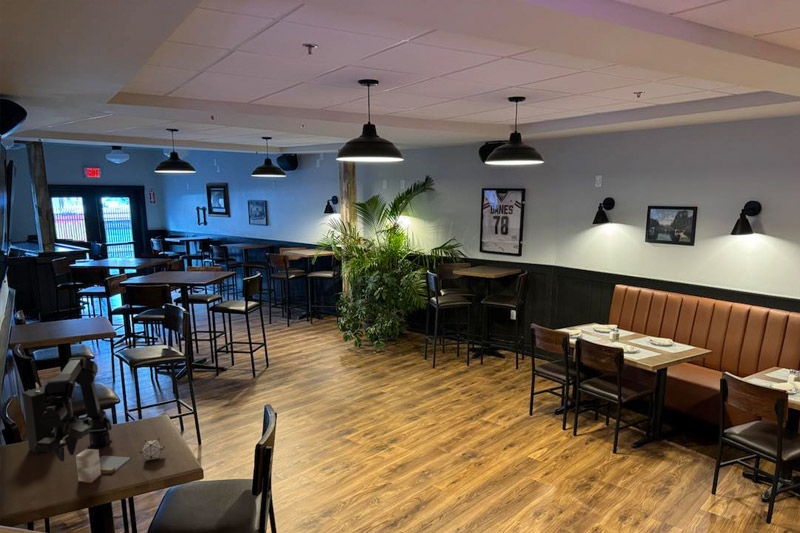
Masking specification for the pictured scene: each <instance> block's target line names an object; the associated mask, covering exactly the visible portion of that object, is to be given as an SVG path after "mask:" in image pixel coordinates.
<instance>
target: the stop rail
mask: <svg viewBox="0 0 800 533" xmlns="http://www.w3.org/2000/svg"><path fill="white" fill-rule="evenodd" d="M100 469H101V474H107V475H112V474H114V473H115V472H116V471H115V467H103V466H100Z"/></svg>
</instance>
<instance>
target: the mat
mask: <svg viewBox="0 0 800 533" xmlns="http://www.w3.org/2000/svg"><path fill="white" fill-rule="evenodd" d="M99 459H100V466H103V467H115V472H116V471H117V470H118V469H120V468H122V467H123V466H124V465H125V464H126V463H127V462H129V461H130V460H132V457H129V456H128V457H127V456H115V455H114V456H113V455H102V456H99Z"/></svg>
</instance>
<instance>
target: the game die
mask: <svg viewBox="0 0 800 533" xmlns="http://www.w3.org/2000/svg"><path fill="white" fill-rule="evenodd" d="M160 439H161V438H160V437H158V438H157V439H153V440H148V441H147V440H146V439H144V442H145V443H144V445H143V447H142V449H141V450H140V451H139V454H142V456H143V458H144V460H145V461H144V463H146V462H148V461H151V460H158V461H161V458H160V457H161V454H162V452H163V450H164V449H165V448H166V447H165V446H163V445H162V443H161V441H160Z"/></svg>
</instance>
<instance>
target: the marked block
mask: <svg viewBox="0 0 800 533" xmlns="http://www.w3.org/2000/svg"><path fill="white" fill-rule="evenodd" d="M99 458H100V450H99V449H96V448H85V449H84V450H82V451H81V452H80V453H77V454H76V455H75V461H76V469H77V479H78V482H79V483H88V484H89V483H90V484H91V483H93V482H94V481H96V480H97V479H98V478H99V477H100V476H101V475H102V473H101V469H100V459H99Z"/></svg>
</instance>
